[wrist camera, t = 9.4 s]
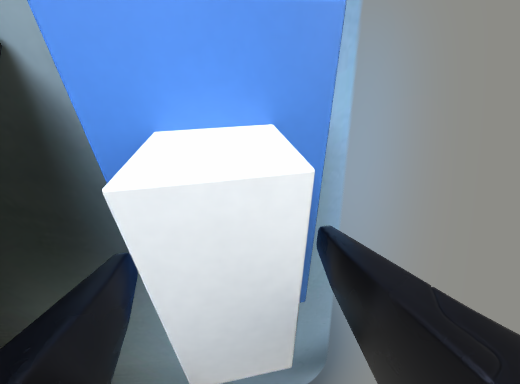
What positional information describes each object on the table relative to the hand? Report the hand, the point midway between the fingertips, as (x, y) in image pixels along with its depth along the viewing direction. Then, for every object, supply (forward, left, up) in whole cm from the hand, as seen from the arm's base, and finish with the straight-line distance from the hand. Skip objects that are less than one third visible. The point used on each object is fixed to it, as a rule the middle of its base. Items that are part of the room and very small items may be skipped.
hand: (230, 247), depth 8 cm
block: (0, 0, -1) cm, 1 cm away
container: (0, -1, -8) cm, 8 cm away
